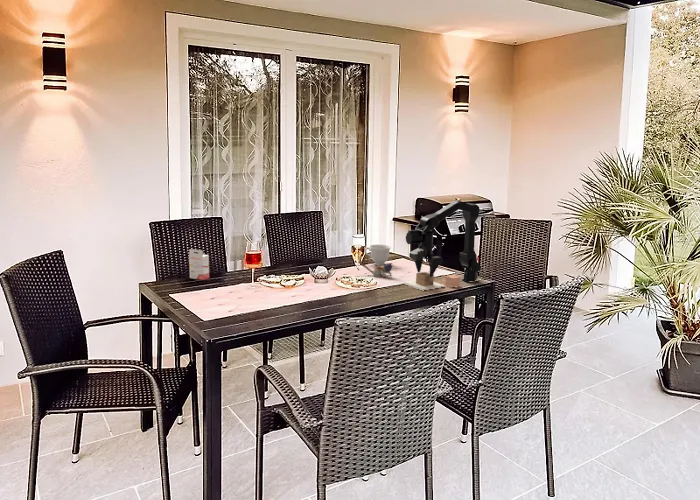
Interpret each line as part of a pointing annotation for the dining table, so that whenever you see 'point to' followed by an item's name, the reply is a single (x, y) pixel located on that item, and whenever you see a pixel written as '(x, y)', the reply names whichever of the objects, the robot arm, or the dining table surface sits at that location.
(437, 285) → the pad
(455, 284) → the clay block
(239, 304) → the dining table surface
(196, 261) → the ink cartridge box
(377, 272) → the toy
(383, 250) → the teacup
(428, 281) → the walnut block
